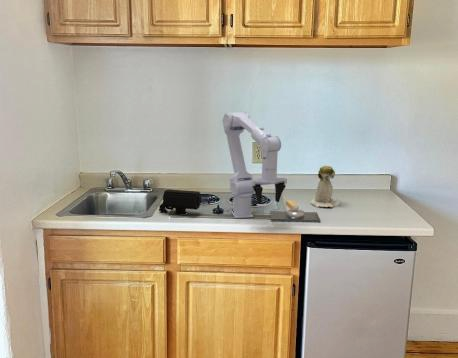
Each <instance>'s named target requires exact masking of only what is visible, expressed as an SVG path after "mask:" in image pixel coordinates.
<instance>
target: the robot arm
mask: <svg viewBox="0 0 458 358" xmlns="http://www.w3.org/2000/svg"><path fill="white" fill-rule="evenodd" d="M221 122H222V126H223V132H224V134H225V136H226V138H227V144H228V145H227V146H228V148H229V154H230V159H231V163H232V169H233V175H232V176H231V177H230V179H229V183H230V185H229V190H230V194H231V195H232V196H233V199H232V201H233V203H232V208H233V209H232V210H231V211H230V213H231V214H232V215H233V217H234V218H235V219H242V218H243V219H244V218H245V219H246V218H254V215H253V214H252V196H253V194H254V193H255V196H256V201H257V203H258V204H259V205H261V204H262V201H263V200H262V195H263V190H264V187H262V186H264V185H267V186H268V185H274V190H275V192H274V193H275V196H274V199H275V200H274V201H275V202H277V203H279V202H280V200H281V196H282V194H283V192H284V190H285V189H286V184H288V178H286V177H277V176H278V155H279V154H278V152H279V151H281V148H282V142H281V140H280V138H279V136H273V135H271V133H269V132H268V131H267V130H266V129H265V128H264V126H257V124H255V122H253V120H251V119H250V114H248V112H246V111H241V112H239V111H237V112H227V111H226V112H225V113H224V115H223V117H222V120H221ZM245 130H246V131H247V132H248V133H250V136H251V138H252V140H253V141H254V142H256V143H257V144H258V146H259V150H260V155H261V157H262V160H261V161H262V162H261V163H262V164H261V166H262V167H261V178H256V179H254V178H253V174H251V173H249V172H248V171H247V167H246V163H245V157H244V153H243V148H242V144H241V139H240V135H241V134H242V133H244V131H245ZM233 211H234V212H233Z"/></svg>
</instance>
